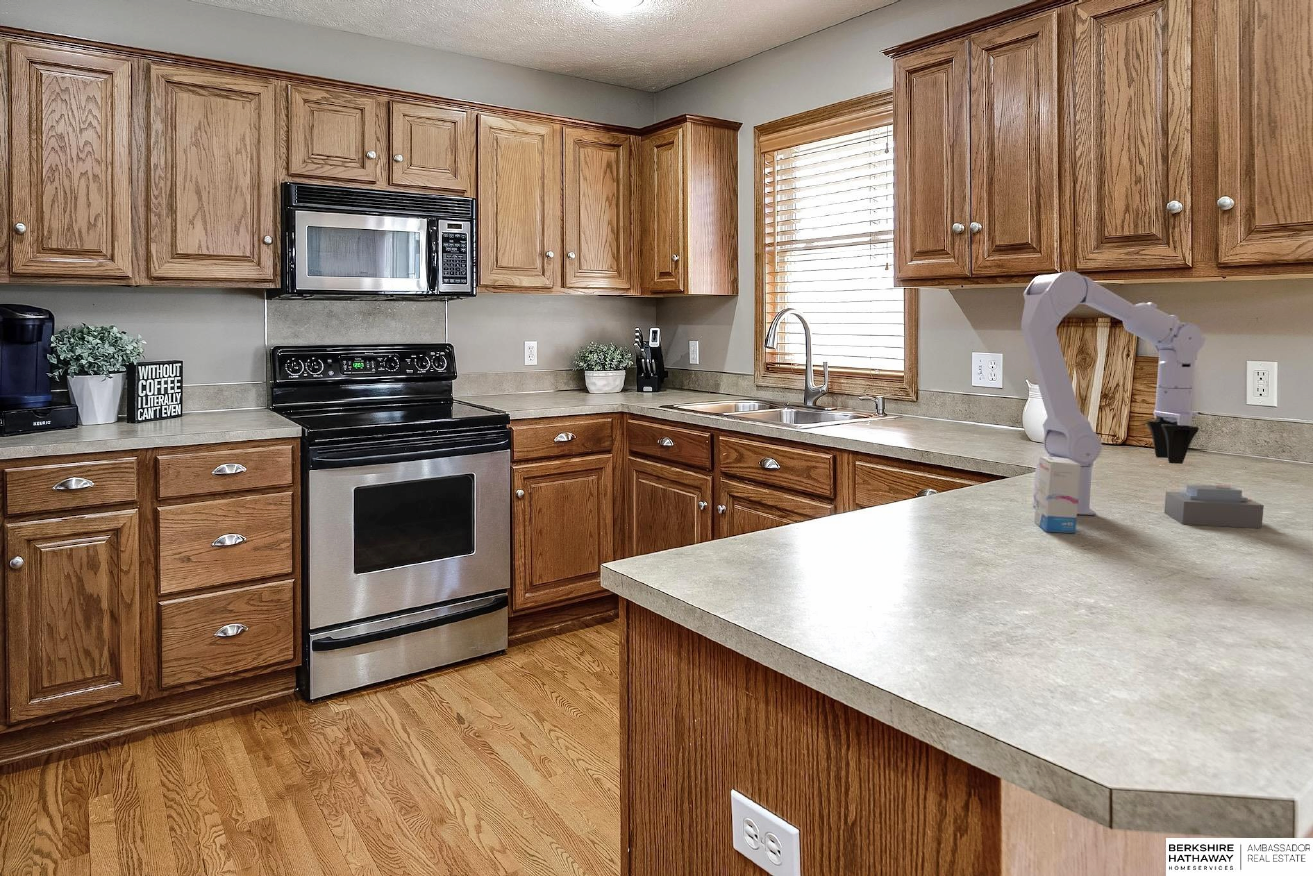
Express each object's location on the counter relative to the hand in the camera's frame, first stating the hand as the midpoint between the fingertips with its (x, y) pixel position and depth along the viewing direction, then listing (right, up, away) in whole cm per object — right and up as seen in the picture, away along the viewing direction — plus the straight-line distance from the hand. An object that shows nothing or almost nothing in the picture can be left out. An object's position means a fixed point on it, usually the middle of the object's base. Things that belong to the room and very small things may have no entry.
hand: (1168, 460), depth 158 cm
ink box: (-28, -11, -14) cm, 33 cm away
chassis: (+3, -10, -8) cm, 13 cm away
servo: (+3, -11, -8) cm, 13 cm away
